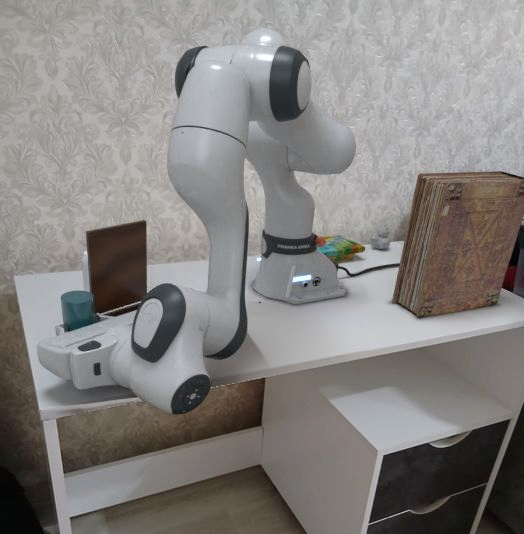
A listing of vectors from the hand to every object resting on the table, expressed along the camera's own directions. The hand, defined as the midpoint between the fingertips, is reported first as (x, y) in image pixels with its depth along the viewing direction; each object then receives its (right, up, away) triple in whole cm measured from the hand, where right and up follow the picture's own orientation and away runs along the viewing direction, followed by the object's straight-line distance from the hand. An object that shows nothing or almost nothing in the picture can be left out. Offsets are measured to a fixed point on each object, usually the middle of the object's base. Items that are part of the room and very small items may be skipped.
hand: (76, 323), depth 94 cm
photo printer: (-2, +6, +27) cm, 28 cm away
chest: (+9, -3, +12) cm, 16 cm away
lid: (+5, +11, +10) cm, 16 cm away
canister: (0, -7, +3) cm, 8 cm away
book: (+76, +6, +39) cm, 86 cm away
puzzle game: (+49, +22, +63) cm, 83 cm away
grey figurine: (+67, +26, +74) cm, 103 cm away
